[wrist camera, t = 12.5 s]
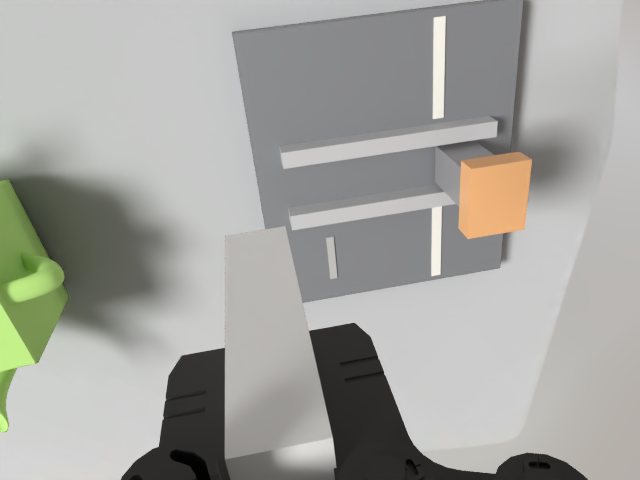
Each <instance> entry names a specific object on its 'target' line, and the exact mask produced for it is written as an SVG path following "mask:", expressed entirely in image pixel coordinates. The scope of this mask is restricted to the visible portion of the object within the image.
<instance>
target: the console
mask: <svg viewBox="0 0 640 480" xmlns="http://www.w3.org/2000/svg"><path fill="white" fill-rule="evenodd" d="M522 11H523V0H483V1H475V2H467V3H459V4H451V5H443V6H435V7H427V8H419V9H411V10H403V11H395V12H387V13H379V14H371V15H363V16H355V17H347V18H339V19H331V20H323V21H315V22H307V23H299V24H291V25H283V26H275V27H267V28H259V29H251V30H243V31H235V32H232V35H233V41H234V47H235V53H236V59H237V65H238V71H239V77H240V82H241V88H242V94H243V100H244V106H245V112H246V118H247V124H248V130H249V135H250V141H251V147H252V153H253V159H254V165H255V171H256V177H257V183H258V188H259V194H260V200H261V206H262V212H263V218H264V224H265V229H271V228H277V227H283V226H285V227H286V231H287V236H288V240H289V245H290V249H291V254H292V258H293V263H294V267H295V272H296V276H297V280H298V285H299V289H300V294H301V298H302V303H304V302H310V301H316V300H321V299H327V298H333V297H338V296H344V295H350V294H355V293H361V292H367V291H372V290H378V289H384V288H390V287H395V286H401V285H407V284H412V283H418V282H424V281H429V280H435V279H441V278H446V277H452V276H458V275H464V274H469V273H475V272H481V271H486V270H492V269H498V268H500V264H501V252H502V241H503V233H501V234H495V235H489V236H483V237H477V238H471V239H467V238H466V236H465V235H464V234H463V233H462V232H461V231H460V230H459V228H458V227H459V207H458V205H457V204H456V203H455V202H454V201H453V200H452V199H451V198H450V197H449V196H448V195H447V194H446V193H445V192H444V191H443V190H442V189H441V188H440V187H439V185H438V184H437V183H436V182H435V147H436V146H440V145H446V144H453V143H460V142H466V141H473V140H474V141H476V142H477V143H479V144H480V145H481V146H483V147H484V148H485V149H487V150H488V151H490V152H491V153H492V154H494V155H500V154H506V153H510V149H511V137H512V126H513V114H514V103H515V91H516V80H517V68H518V57H519V45H520V34H521V22H522Z"/></svg>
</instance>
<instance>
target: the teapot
mask: <svg viewBox="0 0 640 480" xmlns="http://www.w3.org/2000/svg"><path fill="white" fill-rule="evenodd" d="M64 277H65V276H64V272H63V270H62V268H61V267H60V266H59V265H58V264H57V263H56V262H55V261H53V260H51V259H50V258H49V256H48V254H47V252H46V250H45V248H44V246H43V245H42V243H41V241H40V239H39V237H38V235H37V233H36V231H35V229H34V227H33V225H32V223H31V221H30V219H29V217H28V216H27V214H26V212H25V210H24V208H23V206H22V204H21V202H20V200H19V198H18V196H17V194H16V192H15V191H14V189H13V187H12V185H11V183H10V181H9V179H6V180H2V181H0V432H6V431H7V430H8V427H9V423H8V418H7V412H6V397H7V392H8V389H9V386H10V383H11V381H12V378H13V376H14V374H15V372H16V369H17V368H18V367H22V366H26V365H31V364H36V363H38V362H39V360H40V358H41V356H42V353H43V351H44V349H45V347H46V345H47V343H48V341H49V339H50V336H51V334H52V332H53V330H54V328H55V326H56V324H57V322H58V319H59V317H60V315H61V313H62V311H63V309H64V307H65V304H66V302H67V300H68V298H69V295H68V293H67V291H66V289H65V287H64V285H63V281H64Z"/></svg>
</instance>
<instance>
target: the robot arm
mask: <svg viewBox="0 0 640 480" xmlns="http://www.w3.org/2000/svg"><path fill="white" fill-rule="evenodd" d="M163 416H164V420H163V421H162V428H161V436H160V443H159V447H157V448H154V449H152V450H151V451H149V452H148V453H146V454H145V455H143V456H142V457H141V458H139V459H138V460H136V461H135V462H134V463H133V465H132V466H131V467H130V468H129V469H128V471H127V472H126V473H125V474H124V475H123V476H122V478H121V480H588V479H587V478H585V477H584V475H582V474H581V473H580V472H578V471H577V470H576V469H574V468H573V467H572V466H570V465H569V464H568V463H566V462H564V461H561V460H559V459H556V458H554V457H551V456H549V455H545V454H534V453H525V454H521V455H517V456H513V457H510V458H509V459H508V460H506V461H505V462H504V463H503V464H501V465H500V466H499V467H498V469H497V472H496V474H490V473H480V472H470V471H461V470H456V469H451V468H446V467H444V466H442V465H439V464H437V463H434V462H433V461H431V460H430V459H428V458H427V457H426V456H424V455H423V454H422V453H421V452H420V451H419V450H418V449H417V448H416V447H415V446H414V445H413V443H412V441H411V439H410V437H409V435H408V433H407V431H406V428H405V425H404V423H403V420H402V418H401V415H400V412H399V410H398V407H397V405H396V402H395V399H394V397H393V394H392V392H391V389H390V386H389V384H388V381H387V379H386V376H385V375H384V371H383V368H382V366H381V363H380V360H378V355H377V353H376V350H375V347H374V345H373V342H372V340H371V337H370V336H369V335H368V334H367V333H365V332H364V331H363V330H362V329H361V328H360V327H359V326H358V325H356V324H355V323H351V324H345V325H340V326H334V327H329V328H323V329H317V330H312V331H309V330H308V325H307V321H306V316H305V312H304V307H303V303H302V298H301V294H300V289H299V285H298V280H297V276H296V272H295V267H294V263H293V258H292V254H291V249H290V245H289V240H288V236H287V231H286V227H285V226H283V227H277V228H271V229H265V230H259V231H252V232H246V233H240V234H234V235H228V236H225V348H222V349H216V350H211V351H205V352H200V353H194V354H189V355H183V356H181V358H180V359H179V361H178V362H177V364H176V365H175V367H174V369H173V370H172V372H171V373H170V375H169V378H168V385H167V392H166V401H165V407H164V414H163Z"/></svg>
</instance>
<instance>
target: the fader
mask: <svg viewBox="0 0 640 480" xmlns="http://www.w3.org/2000/svg"><path fill="white" fill-rule="evenodd" d="M531 166H532V159H530V158H529V157H527V156H526V155H524V154H523V153H521V152H520V151H519V152H513V153H506V154H500V155H494V154H492V153H491V152H490V151H488V150H487V149H485V148H484V147H483V146H481V145H480V144H479V143H477V142H476V141H474V140H473V141H466V142H460V143H453V144H446V145H440V146H436V147H435V182H436V183H437V184H438V185H439V187H440V188H441V189H442V190H443V191H444V192H445V193H446V194H447V195H448V196H449V197H450V198H451V199H452V200H453V201H454V202H455V203H456V204H457V205H458V207H459V227H458V228H459V230H460V231H461V232H462V233H463V234H464V235H465V236H466V238H467V239H471V238H477V237H483V236H489V235H495V234H501V233H507V232H513V231H519V230H524V229H525V220H526V211H527V202H528V193H529V184H530V175H531Z"/></svg>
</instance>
